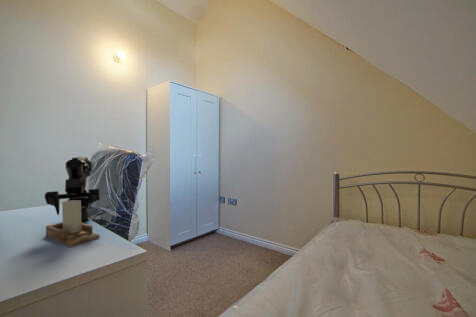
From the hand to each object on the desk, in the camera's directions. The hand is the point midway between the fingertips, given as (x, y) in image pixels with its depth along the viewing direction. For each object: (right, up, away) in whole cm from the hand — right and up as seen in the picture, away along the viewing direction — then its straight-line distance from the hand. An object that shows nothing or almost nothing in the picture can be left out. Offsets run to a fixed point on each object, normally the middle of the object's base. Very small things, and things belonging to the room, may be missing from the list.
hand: (72, 213), depth 88 cm
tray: (0, -10, 0) cm, 10 cm away
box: (0, -8, 0) cm, 8 cm away
